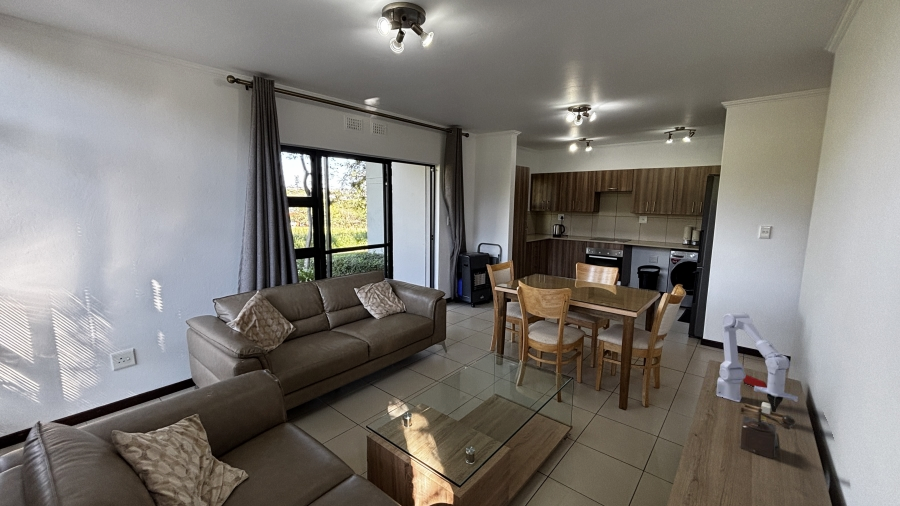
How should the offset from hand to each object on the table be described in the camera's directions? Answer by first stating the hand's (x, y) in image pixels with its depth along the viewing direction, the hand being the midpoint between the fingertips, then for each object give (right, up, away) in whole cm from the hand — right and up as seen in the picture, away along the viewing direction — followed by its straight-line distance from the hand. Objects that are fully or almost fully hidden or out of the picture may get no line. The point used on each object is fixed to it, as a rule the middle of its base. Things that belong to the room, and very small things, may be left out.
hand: (773, 411), depth 163 cm
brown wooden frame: (-2, -4, +3) cm, 5 cm away
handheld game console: (+19, -2, +30) cm, 36 cm away
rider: (-2, -3, +2) cm, 4 cm away
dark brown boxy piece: (-22, -7, -20) cm, 30 cm away
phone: (-15, -7, -12) cm, 21 cm away
